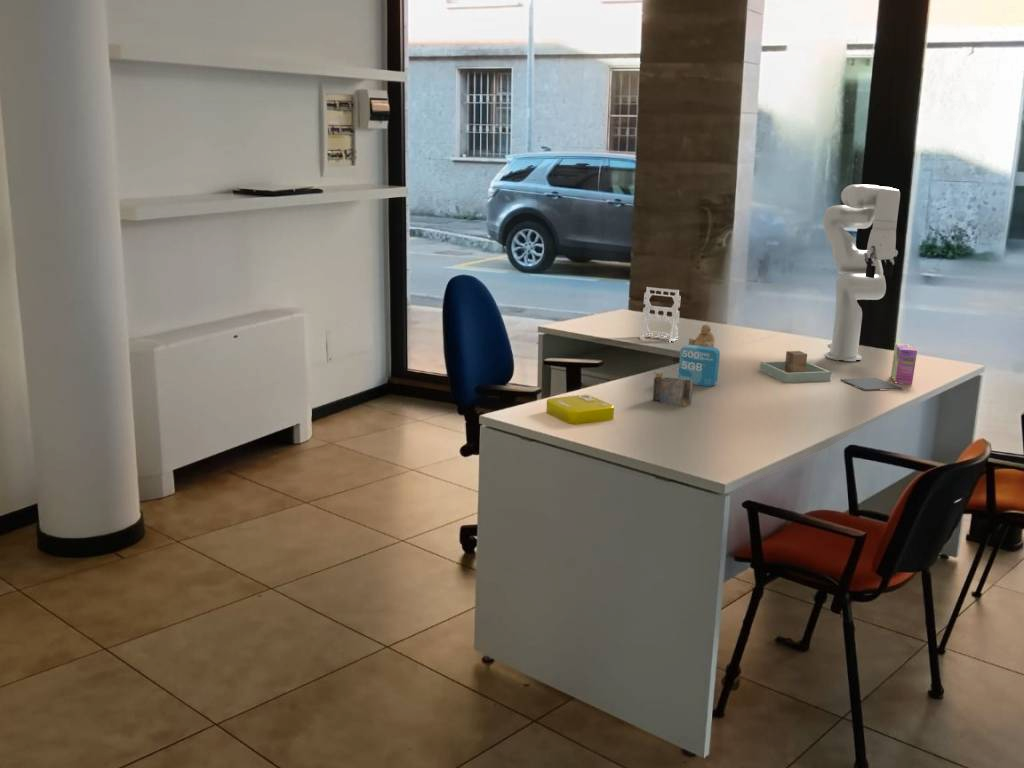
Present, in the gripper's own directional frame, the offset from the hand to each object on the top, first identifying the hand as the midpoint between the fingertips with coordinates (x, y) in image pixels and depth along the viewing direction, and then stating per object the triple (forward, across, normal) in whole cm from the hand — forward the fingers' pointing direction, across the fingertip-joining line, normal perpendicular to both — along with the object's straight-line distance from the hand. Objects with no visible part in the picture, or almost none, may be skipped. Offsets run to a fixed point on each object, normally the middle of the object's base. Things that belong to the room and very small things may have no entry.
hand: (878, 276), depth 357 cm
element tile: (+36, +122, -9) cm, 128 cm away
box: (+34, -3, +11) cm, 36 cm away
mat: (+34, +12, +10) cm, 38 cm away
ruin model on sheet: (+35, +88, -6) cm, 95 cm away
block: (+34, +25, -11) cm, 44 cm away
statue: (+34, +35, -45) cm, 67 cm away
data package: (+34, +63, -20) cm, 75 cm away
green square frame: (+34, +25, -11) cm, 44 cm away
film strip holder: (+34, +23, -79) cm, 89 cm away
